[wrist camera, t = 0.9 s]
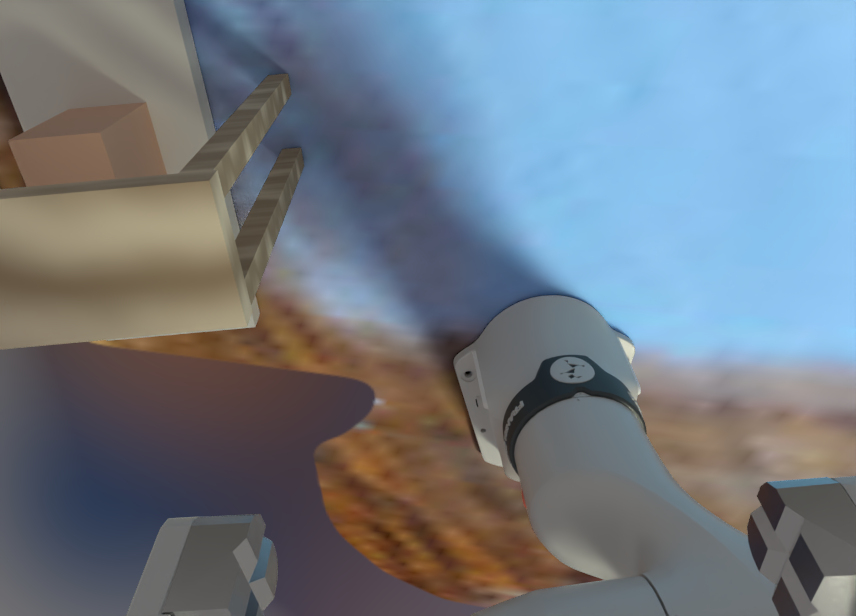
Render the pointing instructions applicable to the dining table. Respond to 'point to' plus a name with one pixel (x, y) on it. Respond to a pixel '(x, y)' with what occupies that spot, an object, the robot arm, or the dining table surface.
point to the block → (89, 146)
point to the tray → (110, 71)
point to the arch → (145, 243)
